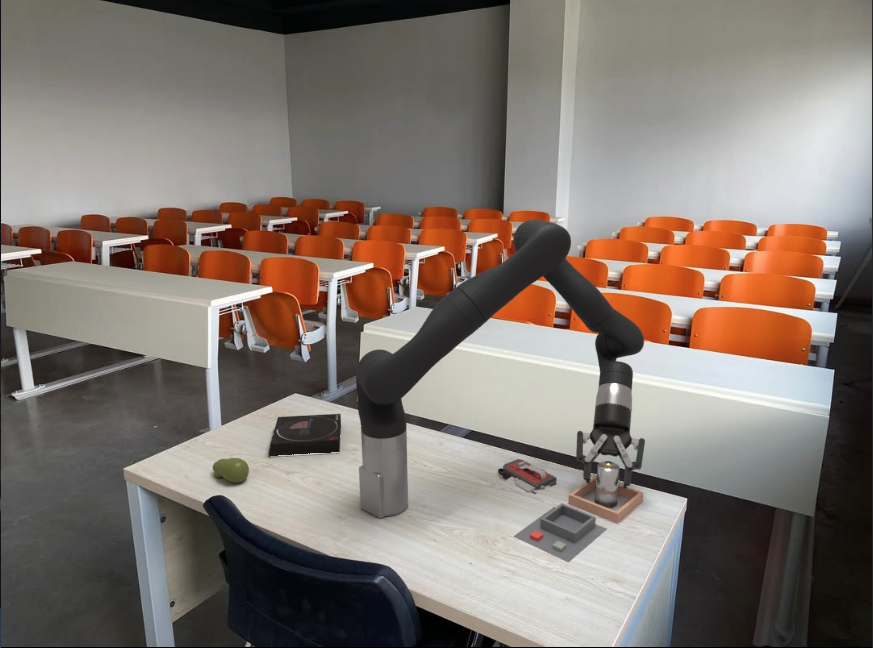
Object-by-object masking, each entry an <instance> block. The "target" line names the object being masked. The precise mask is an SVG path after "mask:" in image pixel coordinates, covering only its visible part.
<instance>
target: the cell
mask: <svg viewBox="0 0 873 648" xmlns="http://www.w3.org/2000/svg"><path fill="white" fill-rule="evenodd" d="M596 467H597V468H596V476H597V478H596V487H595V495H594V503H596V504H599V505H601V506H604V507H606V508H609V509H613V508H617V506H618V495H619V494H618V484H620V483H619V481H620V471H621V470H620V469H621V468H620V465H618V464H617V463H615V462H613V461H610V460H607V461H606V460H605V461H601V462H599V463H597V466H596Z"/></svg>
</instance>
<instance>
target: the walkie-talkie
mask: <svg viewBox="0 0 873 648" xmlns="http://www.w3.org/2000/svg"><path fill="white" fill-rule="evenodd" d="M497 473H498V474H499V475H500V476H502V478H503V479H505V481H506V480H508V479H510V478H513V479H512V481H514V482H515V486H516V487H517V488H519V489H521V490H523V491H524V492H526V493H527V494H528V493H531V494H533V495H537V494H538V493H537V492H536V491H539V490H545V489H546V488H545V487H550V488H551V487H553V486H555V485H557V476H554V474H553V475H552V474H551V473H548V472H547V471H546V470H545V469H543V468H540V467H539V466H538V465H535V464H532V463H529V462H528V461H525V460H524V459H519V458H517V459H515V460H513V461H512V460H511V461H509V462H507V463H505V464H503V465H502V467H501V468H498V469H497ZM553 505H554V506H556V507H557V506H558V505H556V504H555V503H553Z"/></svg>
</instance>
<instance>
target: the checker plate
mask: <svg viewBox="0 0 873 648" xmlns="http://www.w3.org/2000/svg"><path fill="white" fill-rule="evenodd" d="M596 520H597V517H596V516H594V515H593V514H589V513H588V512H585V511H583V510H581V509H580V510H579V508H578V509H577V508H576V507H574V506H570V505H569V504H568V505H567V504H564V503H560V504H559V505H557V506H556V507H555V506H553V507H552V508H551V509H548V511H546V512H545V513H543V514H542V515H541V516H539V517H538V518H536V519H535V520H534V521H532V522H531V523H530V524H528V525H527V526H526V527H524V528H523V529H521V530H520V531H519V532H518V533H516V534H515V535H513V536H512V537H514V538H516V539H518V540H520V541H522V542H524V543H527V544H528V545H531V546H533V547H535V548H537V549H539V550H541V551H543V552H546V553H548V554H550V555H552V556H553V557H556V558H558V559H560V560H563V561H564V562H566V563H570V562H571V561H572V560H573V559H574V558H576V556H578V555H579V554H580V553H581V552H583V551H584V550H585V549H586V548H588V546H589V545H591V544H592V543H594V541H595V540H596V539H598V538H599V537H600V536H601V535H602V534H603V533H605V532H606V531H607V530H608V528H606V527H603V526H602V525H599V524H597V523H596Z"/></svg>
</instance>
